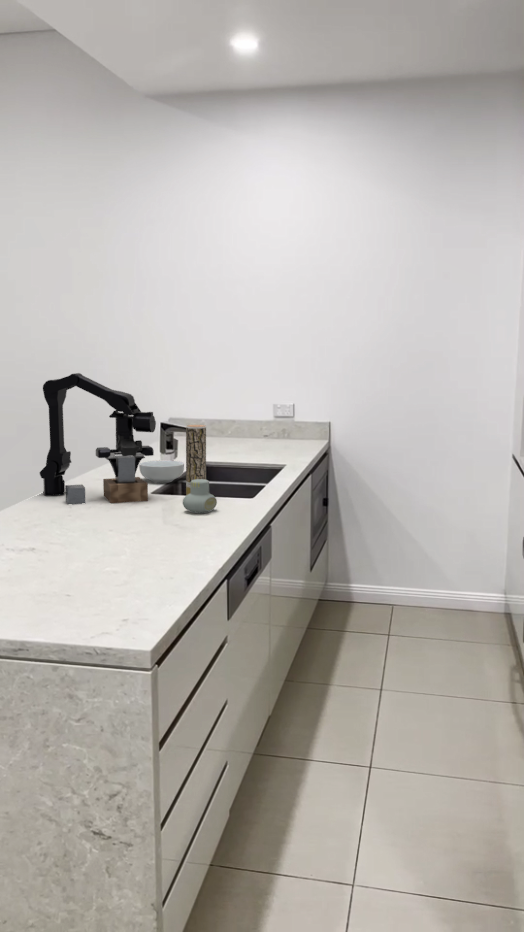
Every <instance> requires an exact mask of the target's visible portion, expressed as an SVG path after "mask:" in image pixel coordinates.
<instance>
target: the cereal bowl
mask: <svg viewBox="0 0 524 932" xmlns="http://www.w3.org/2000/svg"><path fill="white" fill-rule="evenodd" d="M138 467H139V472H140V475H141V476H142V477H143V478H144V479H147V480H149V481H151V482H152V483H155V482H157V483H156V484H165V483H172V482H173V481H174V480H176V479H178V478H180V477H181V476H182V475H183V474H184V471H185V462H183V461H180V460H171V459H167V460H166V459H162V460H160V459H159V460H156V459H155V460H147V461H142V462H140V463H139V465H138Z"/></svg>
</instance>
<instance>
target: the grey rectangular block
mask: <svg viewBox="0 0 524 932" xmlns="http://www.w3.org/2000/svg"><path fill="white" fill-rule="evenodd" d="M115 458H116V465H117V477H116V476H115V475H114V476H115V477H114V478H115V483H116V484H121V483H135V477H136V473H135V457H133V456H132V455H128V456H123V455H122V454H121V455H115Z"/></svg>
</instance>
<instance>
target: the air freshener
mask: <svg viewBox="0 0 524 932" xmlns="http://www.w3.org/2000/svg"><path fill="white" fill-rule="evenodd" d="M217 504H218V500H217V498H216V497H215V496H214V495H213V494H211V493H210V481H209V480H208V479H206V480H205V479H195V480H192V481H191V489H190V494H188V495H185V496H184V497H183V499H182V505H183V507H184V509H185V510H187V511H188V512H190V513H195V514H208V513H210V512H211V511H212V510H214V509H215V508H216V506H217Z"/></svg>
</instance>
